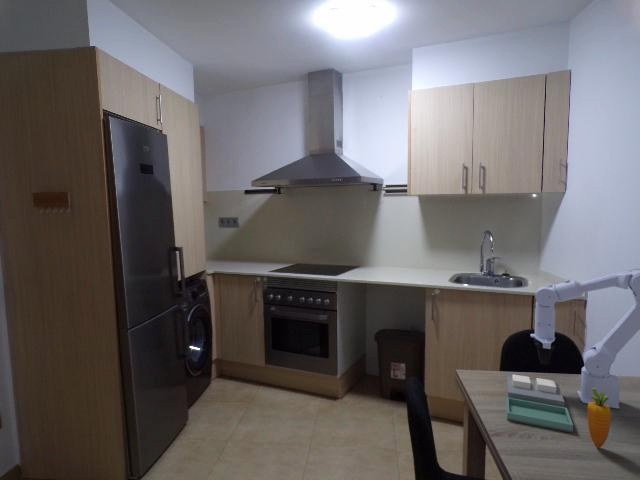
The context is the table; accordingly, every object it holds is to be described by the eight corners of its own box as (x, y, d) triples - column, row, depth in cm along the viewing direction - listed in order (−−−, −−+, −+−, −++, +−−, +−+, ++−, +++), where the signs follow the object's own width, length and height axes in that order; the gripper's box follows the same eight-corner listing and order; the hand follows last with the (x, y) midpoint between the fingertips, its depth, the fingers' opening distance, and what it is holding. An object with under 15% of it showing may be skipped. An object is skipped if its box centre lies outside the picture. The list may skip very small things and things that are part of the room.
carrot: (614, 455, 91) (616, 396, 90) (591, 452, 92) (593, 394, 91) (603, 442, 96) (605, 386, 95) (582, 440, 97) (583, 385, 96)
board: (557, 393, 122) (557, 383, 122) (564, 413, 111) (564, 401, 110) (506, 385, 129) (507, 375, 128) (507, 402, 117) (508, 392, 117)
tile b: (529, 382, 123) (529, 376, 123) (530, 389, 118) (530, 383, 118) (512, 380, 125) (512, 374, 125) (512, 386, 121) (512, 380, 121)
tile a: (553, 386, 120) (553, 380, 120) (556, 393, 115) (556, 387, 115) (536, 383, 122) (536, 377, 122) (537, 390, 118) (537, 384, 118)
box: (566, 415, 109) (566, 407, 109) (572, 433, 100) (573, 425, 100) (506, 403, 116) (506, 397, 116) (507, 419, 107) (507, 412, 107)
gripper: (529, 316, 132) (528, 353, 133) (532, 327, 119) (531, 368, 120) (552, 318, 129) (551, 356, 130) (558, 330, 116) (557, 372, 117)
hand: (543, 362), depth 125 cm, fingers closed
